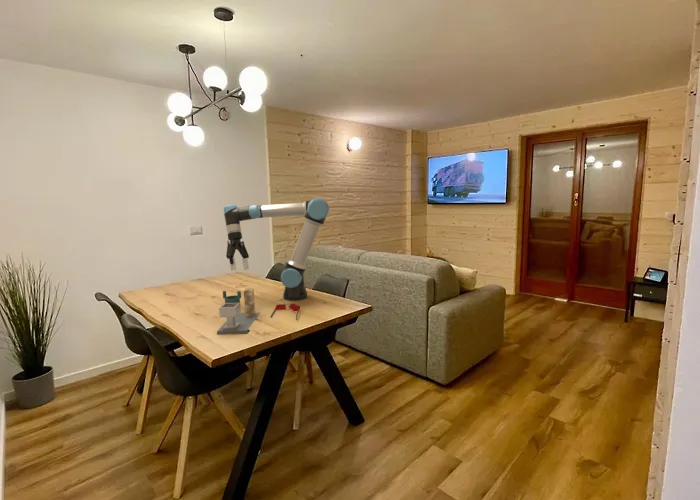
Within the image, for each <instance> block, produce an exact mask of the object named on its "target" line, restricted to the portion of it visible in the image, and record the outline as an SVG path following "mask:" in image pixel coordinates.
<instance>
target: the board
mask: <svg viewBox="0 0 700 500" xmlns="http://www.w3.org/2000/svg"><path fill="white" fill-rule="evenodd" d="M260 314H261V312H255V316H254V317H246V315H245V312H240V313H239V314H238V316H237V317H235V323H240V324H239V326H238V327H237V328H236V329H223V327H224V326H225V325H226V324H227V320H226V321H225V322H224V323H223V324H222V326H221V327H219V328H218V330H216V335H237V334H249V332H250V331H251V329H249V328H250V327H252V325H253V323H254V322H255V321H256V320H257V318H258V317H259V315H260Z"/></svg>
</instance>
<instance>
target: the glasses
mask: <svg viewBox="0 0 700 500" xmlns="http://www.w3.org/2000/svg"><path fill="white" fill-rule="evenodd" d="M287 305H288V310H289V311H290V310H291V311H293V312H294V311H297V313H296V314H295V315H296V317H295V320H297V321H298V314H299V312H300V310H301V306H300V305H299V304H298V303H290V304H289V303H286V304H285V303H283V304H282V303H280V304H276V306H275V309H274V310H273V312H272V313H271V315H270V318H273V315H274V313H275V312H276V311H279V310H280V311H281V310H286V309H287Z"/></svg>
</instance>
